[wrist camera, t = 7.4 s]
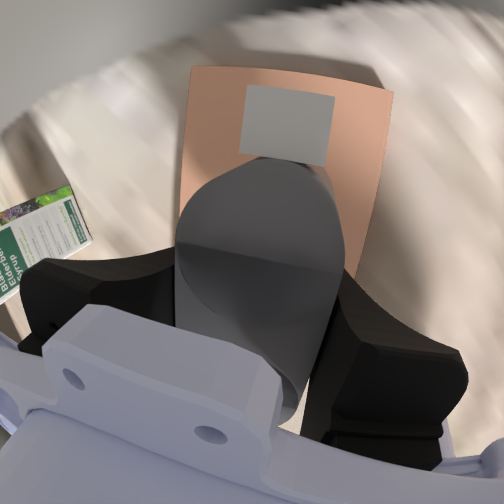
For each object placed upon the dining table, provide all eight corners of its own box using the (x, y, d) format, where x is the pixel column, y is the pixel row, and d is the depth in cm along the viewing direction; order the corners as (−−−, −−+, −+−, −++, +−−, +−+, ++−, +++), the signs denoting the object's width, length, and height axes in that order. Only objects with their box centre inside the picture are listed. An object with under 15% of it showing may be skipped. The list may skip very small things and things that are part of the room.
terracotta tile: (331, 336, 23) (331, 348, 21) (186, 304, 25) (178, 314, 23) (388, 94, 15) (393, 91, 14) (200, 69, 17) (191, 65, 16)
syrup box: (95, 242, 24) (-32, 331, 11) (61, 257, 26) (-46, 334, 13) (71, 183, 23) (-70, 245, 10) (39, 206, 25) (-77, 266, 11)
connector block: (300, 340, 15) (284, 438, 10) (224, 323, 16) (180, 411, 10) (350, 111, 10) (380, 94, 5) (249, 95, 11) (187, 70, 6)
